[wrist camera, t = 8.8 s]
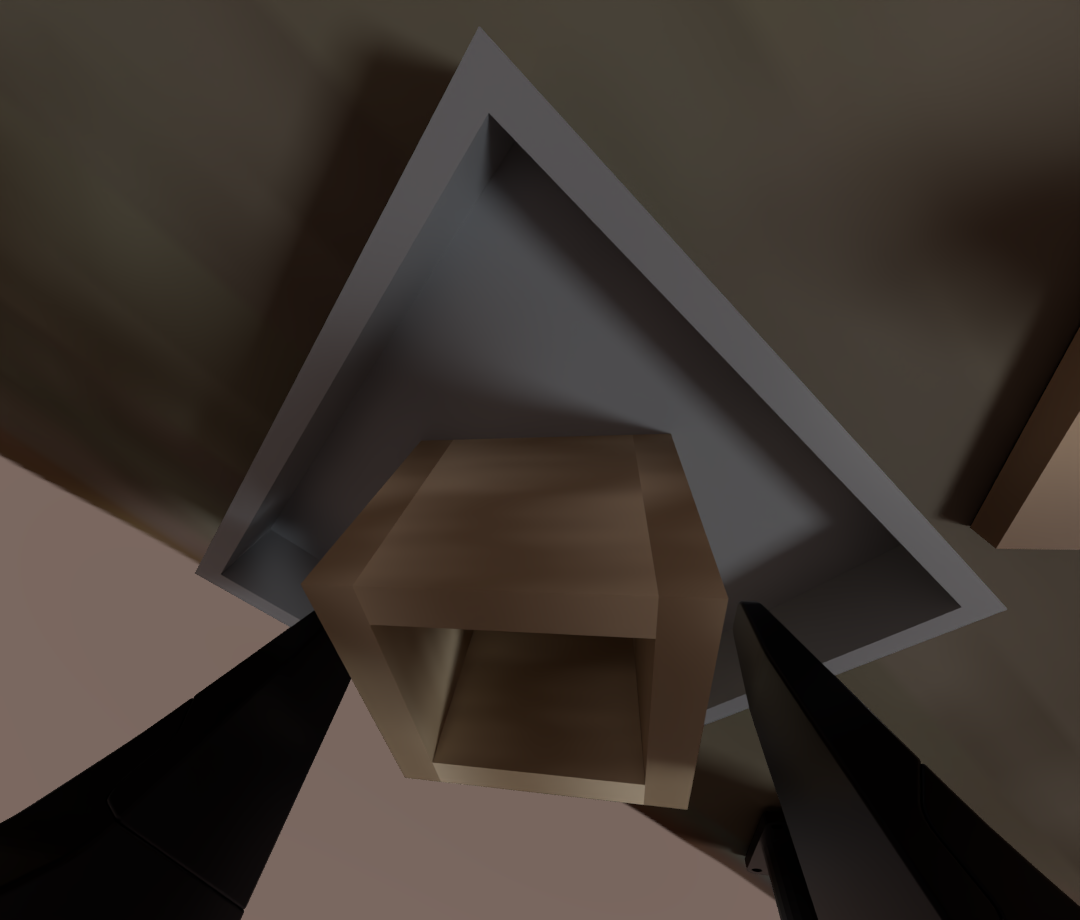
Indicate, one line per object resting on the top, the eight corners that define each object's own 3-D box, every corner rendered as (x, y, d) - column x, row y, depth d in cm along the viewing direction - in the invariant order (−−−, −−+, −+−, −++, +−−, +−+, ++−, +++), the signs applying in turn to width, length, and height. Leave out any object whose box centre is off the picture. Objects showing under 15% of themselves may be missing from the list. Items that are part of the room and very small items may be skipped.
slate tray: (925, 532, 11) (1007, 609, 8) (566, 710, 17) (561, 779, 15) (515, 86, 7) (479, 26, 5) (258, 518, 14) (195, 573, 12)
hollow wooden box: (670, 433, 10) (728, 598, 5) (654, 653, 14) (680, 846, 9) (420, 440, 11) (300, 584, 6) (475, 643, 15) (424, 814, 10)
